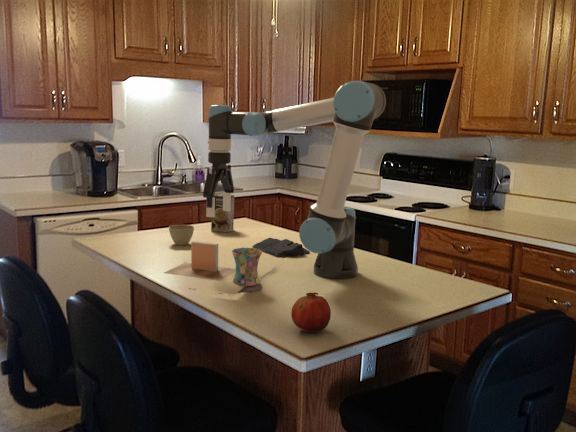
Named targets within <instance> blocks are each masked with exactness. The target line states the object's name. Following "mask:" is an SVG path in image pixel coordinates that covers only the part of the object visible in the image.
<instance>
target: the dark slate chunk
mask: <svg viewBox="0 0 576 432" xmlns="http://www.w3.org/2000/svg"><path fill="white" fill-rule="evenodd" d="M251 248H256V249H259V250H261V251H262V253H263V254H267V255H270V256H272V257H274V258H281V259H285V258H295V257H300V256H304V255H308V254H310V253H311V251H309V250H308V249H306V248H305V247H304V245H303V244H302V243H298V242H295V241H292V240H289V239H287V238H285V239H282V240H281V239H278V238H273V237H268V238H265V239H263V240H262V241H260V242H256V243H255V244H253V245H252V247H251Z"/></svg>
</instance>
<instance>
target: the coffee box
mask: <svg viewBox="0 0 576 432" xmlns="http://www.w3.org/2000/svg"><path fill="white" fill-rule="evenodd" d="M213 198H215V217H210V218H211V220H210V221H211V223H210V224H211V225H210V226H211V227H210V231H211V230H212V231H211V232H220V231H226V232H225V233H231V232H233V231H234V230H233V229H234V225H235V223H234V220H235V219H234V217H235V216H234V215H235V195H234V194H233V195H232V194H231V211H223V193H222V194H221V193H220V194H219V193H218V194H217V193H215V194H214V197H213ZM230 231H231V232H230Z"/></svg>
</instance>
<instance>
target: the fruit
mask: <svg viewBox="0 0 576 432" xmlns="http://www.w3.org/2000/svg"><path fill="white" fill-rule="evenodd" d="M290 313H291V319H292V322H293V324H294V325H295V326H296V327H297V328H299V329H300V330H302V331H304V332H306V333H317V332H321V331H323V330H325V329H326V328H327V327H328V325H329V324H330V321H331V314H332V312H331V308H330V304H329V302H328V301H327V299H326V298H325V297H323V296H320V295H319V293H318V292H306V293H305V295H304V296H301V297H299V298H298V299H297V300H296V301H295V302H294V304H293V305H292V307H291V312H290Z"/></svg>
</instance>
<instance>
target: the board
mask: <svg viewBox="0 0 576 432" xmlns="http://www.w3.org/2000/svg"><path fill="white" fill-rule="evenodd" d="M235 272H236V268H230V267H222V266H218V270H217V271H209V270H201V269H193V268H191V263H190V262H182V263H181V264H179V265H177V266H175V267H173V268H170V269H169V270H166V271H164V272H163V274H170V275H176V276H178V275H179V276H185V277H190V278H191V277H192V278H198V279H199V278H200V279H207V280H215V281H220V280H222V279H224V278H226V277H228V276H229V275H231V274H233V273H235Z"/></svg>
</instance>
